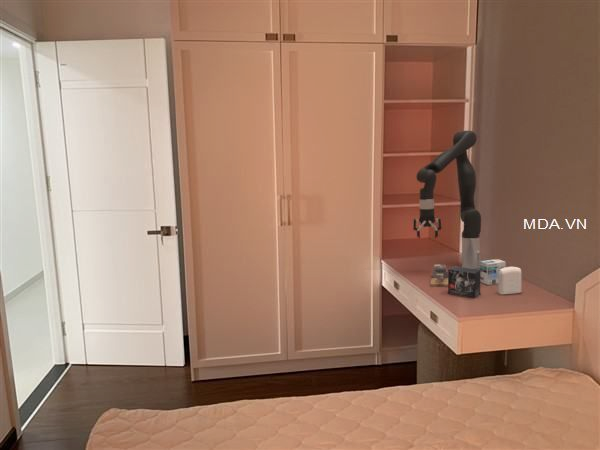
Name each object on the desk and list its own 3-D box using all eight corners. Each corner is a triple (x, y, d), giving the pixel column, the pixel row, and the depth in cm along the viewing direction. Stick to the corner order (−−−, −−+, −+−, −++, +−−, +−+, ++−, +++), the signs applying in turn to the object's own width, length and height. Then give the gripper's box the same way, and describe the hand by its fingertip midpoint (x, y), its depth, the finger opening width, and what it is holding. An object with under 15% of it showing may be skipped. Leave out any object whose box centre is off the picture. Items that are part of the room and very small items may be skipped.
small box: (447, 293, 225) (447, 269, 223) (454, 290, 230) (453, 265, 228) (475, 298, 216) (475, 273, 214) (481, 294, 221) (481, 269, 219)
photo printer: (501, 295, 218) (501, 269, 216) (496, 292, 222) (496, 266, 220) (522, 293, 219) (523, 267, 217) (517, 290, 223) (518, 265, 221)
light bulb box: (487, 285, 234) (487, 264, 232) (478, 281, 240) (479, 261, 239) (506, 282, 237) (506, 261, 235) (497, 279, 243) (497, 258, 241)
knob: (443, 276, 254) (443, 263, 253) (447, 279, 248) (447, 265, 247) (432, 276, 253) (432, 263, 252) (436, 279, 248) (436, 266, 246)
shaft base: (453, 280, 244) (453, 271, 244) (453, 287, 234) (453, 277, 233) (431, 280, 248) (430, 271, 247) (430, 286, 237) (430, 277, 237)
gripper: (440, 206, 253) (441, 236, 256) (413, 206, 257) (413, 236, 259) (441, 208, 246) (441, 239, 249) (412, 208, 250) (413, 239, 252)
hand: (427, 237), depth 254 cm, fingers open, 8 cm apart
